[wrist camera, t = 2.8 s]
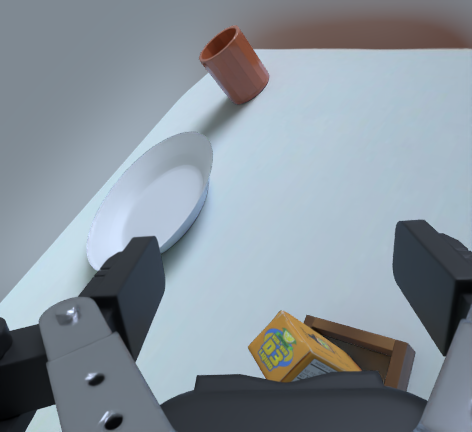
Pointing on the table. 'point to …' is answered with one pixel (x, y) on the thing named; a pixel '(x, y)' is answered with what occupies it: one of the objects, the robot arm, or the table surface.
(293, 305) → the table surface
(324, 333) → the wooden frame
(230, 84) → the cup
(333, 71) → the table surface
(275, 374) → the supplement box
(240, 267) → the table surface
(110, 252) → the white plate
